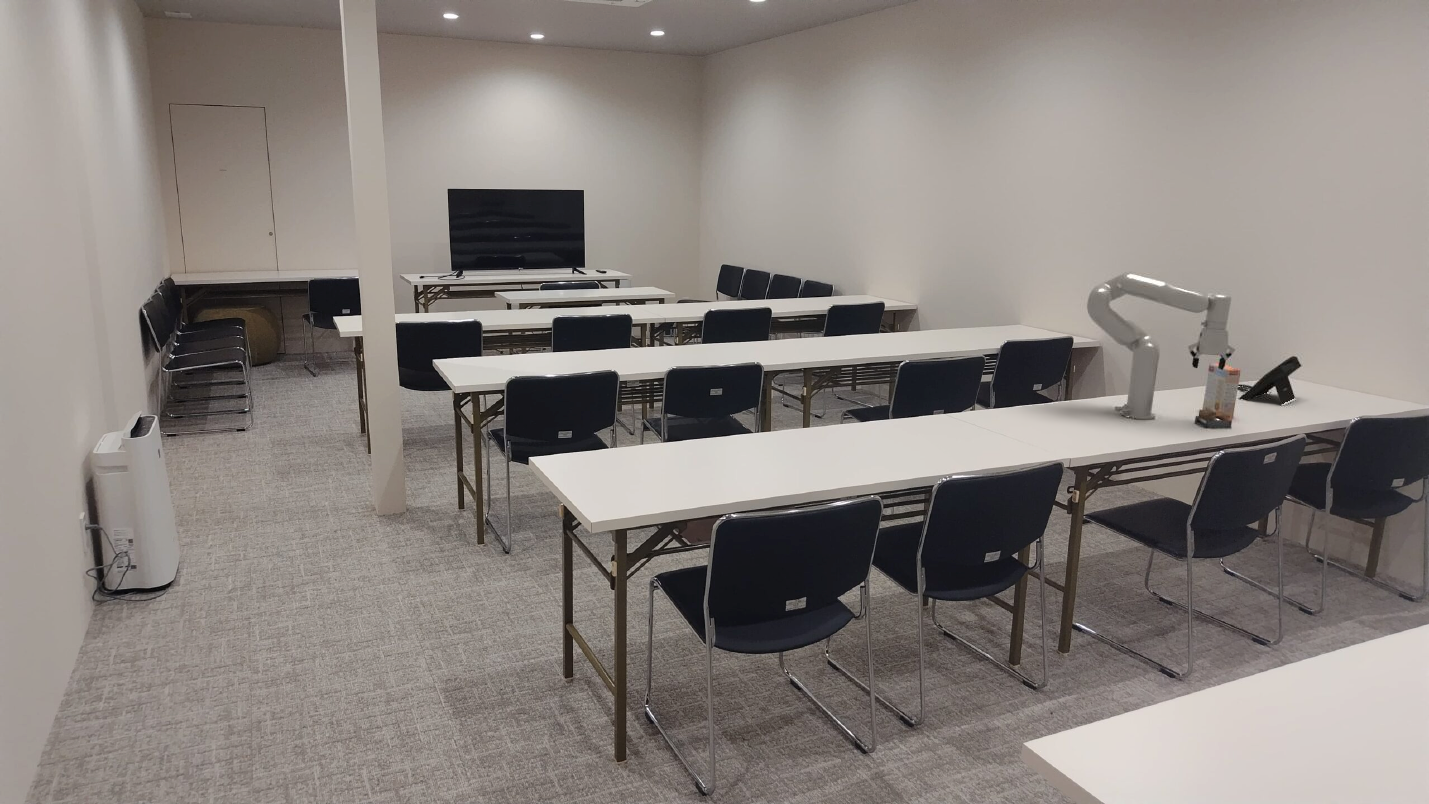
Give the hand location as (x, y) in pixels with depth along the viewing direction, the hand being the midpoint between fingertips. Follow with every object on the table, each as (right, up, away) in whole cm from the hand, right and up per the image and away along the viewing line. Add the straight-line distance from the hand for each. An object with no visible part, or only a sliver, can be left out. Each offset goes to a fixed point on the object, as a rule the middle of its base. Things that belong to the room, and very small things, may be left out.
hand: (1207, 368), depth 355 cm
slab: (0, -20, +1) cm, 20 cm away
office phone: (+53, -11, +54) cm, 77 cm away
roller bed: (+3, -23, +2) cm, 23 cm away
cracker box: (+14, -19, +18) cm, 30 cm away
